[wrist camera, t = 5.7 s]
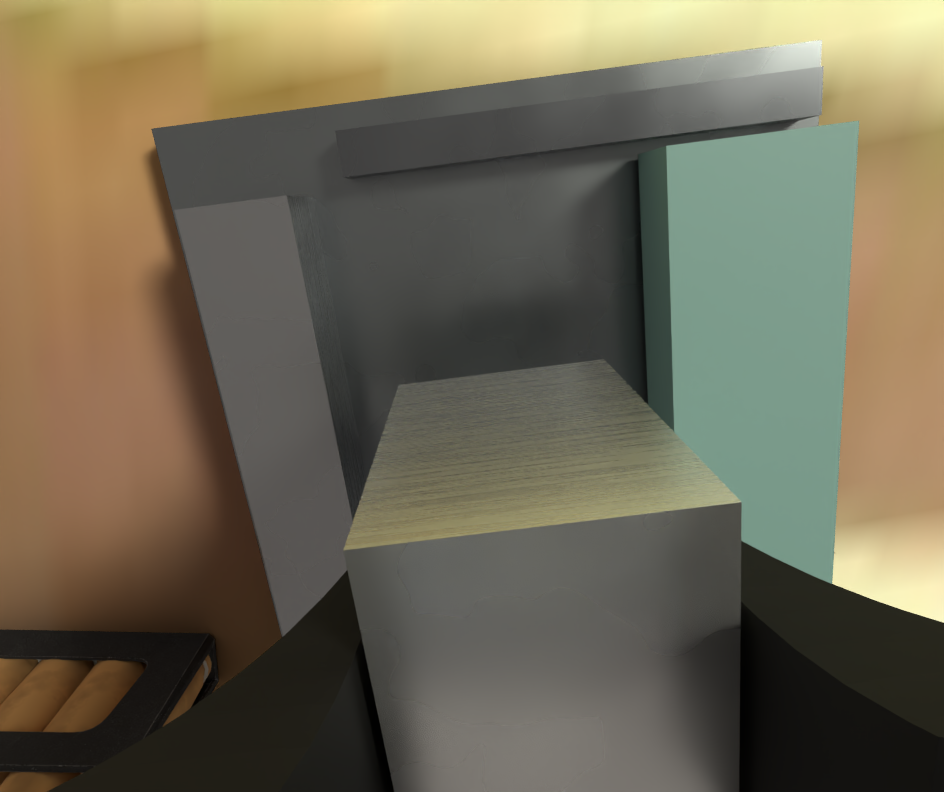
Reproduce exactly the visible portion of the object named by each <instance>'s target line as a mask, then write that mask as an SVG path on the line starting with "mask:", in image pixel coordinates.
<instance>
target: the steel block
mask: <svg viewBox="0 0 944 792" xmlns="http://www.w3.org/2000/svg"><path fill="white" fill-rule="evenodd" d="M741 513H742V502H741V501H740V500H739V499H738V498H737V497H736V496H735V495H734V494H733V493H732V492H731V491H730V490H729V489H728V488H727V486H726V485H725V484H724V483H723V482H722V481H721V480H720V479H719V478H718V477H717V476H716V475H715V474H714V473H713V472H712V471H711V470H710V469H709V468H708V467H707V466H706V465H705V464H704V463H703V462H702V461H701V460H700V458H699V457H698V456H697V455H696V454H695V453H694V452H693V451H692V450H691V449H690V448H689V447H688V446H687V445H686V444H685V443H684V442H683V441H682V440H681V439H680V438H679V437H678V436H677V435H676V434H675V433H674V431H673V430H672V429H671V428H670V427H669V426H668V425H667V424H666V423H665V422H664V421H663V420H662V419H661V418H660V417H659V416H658V415H657V414H656V413H655V412H654V411H653V410H652V409H651V408H650V407H649V406H648V404H647V403H646V402H645V401H644V400H643V399H642V398H641V397H640V396H639V395H638V394H637V393H636V392H635V391H634V390H633V389H632V388H631V387H630V386H629V385H628V384H627V383H626V382H625V381H624V380H623V379H622V378H621V376H620V375H619V374H618V373H617V372H616V371H615V370H614V369H613V368H612V367H611V366H610V365H609V364H608V363H607V362H606V361H605V360H604V359H602V360H594V361H586V362H578V363H570V364H562V365H554V366H546V367H537V368H530V369H521V370H513V371H505V372H497V373H489V374H481V375H473V376H465V377H457V378H449V379H441V380H433V381H425V382H417V383H409V384H401V385H399V386H398V389H397V392H396V395H395V397H394V400H393V403H392V406H391V409H390V412H389V415H388V418H387V421H386V424H385V427H384V430H383V433H382V436H381V439H380V442H379V445H378V448H377V451H376V454H375V457H374V460H373V463H372V466H371V469H370V472H369V475H368V478H367V481H366V484H365V487H364V490H363V493H362V496H361V499H360V502H359V505H358V508H357V511H356V514H355V517H354V520H353V523H352V526H351V529H350V532H349V535H348V538H347V541H346V544H345V547H344V550H343V551H344V556H345V561H346V565H347V570H348V575H349V580H350V584H351V589H352V594H353V599H354V603H355V608H356V613H357V618H358V622H359V627H360V632H361V636H362V641H363V646H364V651H365V655H366V660H367V665H368V670H369V674H370V679H371V684H372V689H373V693H374V698H375V703H376V707H377V712H378V717H379V722H380V726H381V731H382V736H383V741H384V745H385V750H386V755H387V760H388V764H389V769H390V774H391V779H392V783H393V788H394V792H739V753H740V633H741Z"/></svg>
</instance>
